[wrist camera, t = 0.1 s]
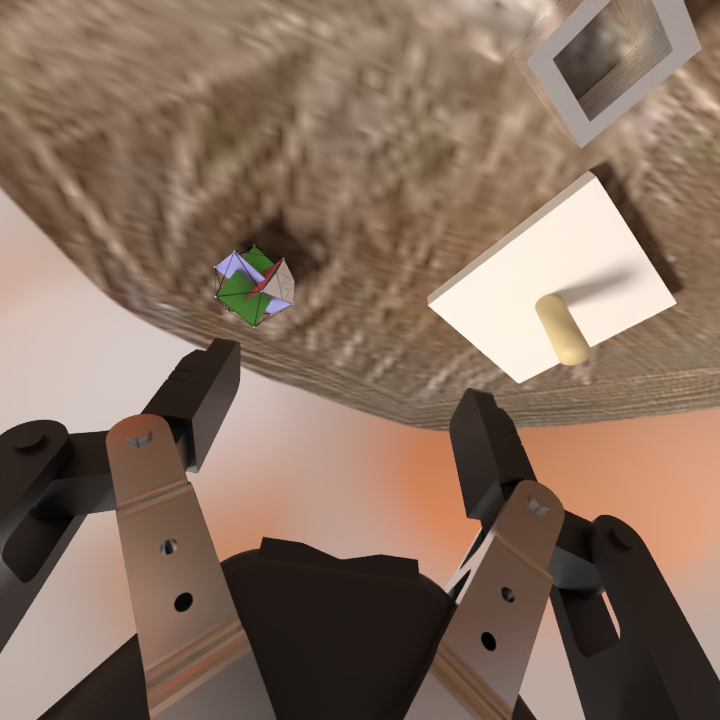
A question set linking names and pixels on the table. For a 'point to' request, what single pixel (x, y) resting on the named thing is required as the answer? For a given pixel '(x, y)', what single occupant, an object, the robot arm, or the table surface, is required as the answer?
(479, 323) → the post board
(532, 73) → the steel collar
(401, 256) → the table surface
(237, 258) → the geometric puzzle
